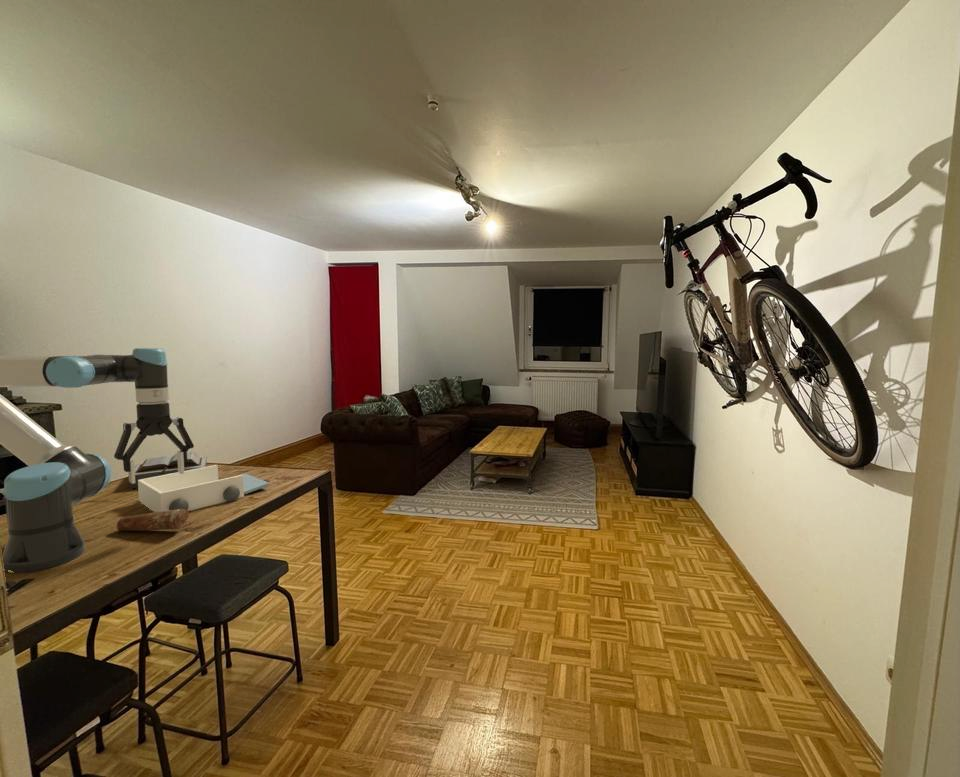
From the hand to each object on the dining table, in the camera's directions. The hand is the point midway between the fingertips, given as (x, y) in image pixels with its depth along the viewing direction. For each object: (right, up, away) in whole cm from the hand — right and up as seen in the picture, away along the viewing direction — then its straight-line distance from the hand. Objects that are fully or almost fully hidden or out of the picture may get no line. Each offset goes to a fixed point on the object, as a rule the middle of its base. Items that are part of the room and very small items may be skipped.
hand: (157, 477), depth 127 cm
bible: (-31, -12, +50) cm, 60 cm away
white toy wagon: (-8, -13, +28) cm, 32 cm away
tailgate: (0, -11, +38) cm, 40 cm away
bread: (0, -18, +2) cm, 18 cm away
